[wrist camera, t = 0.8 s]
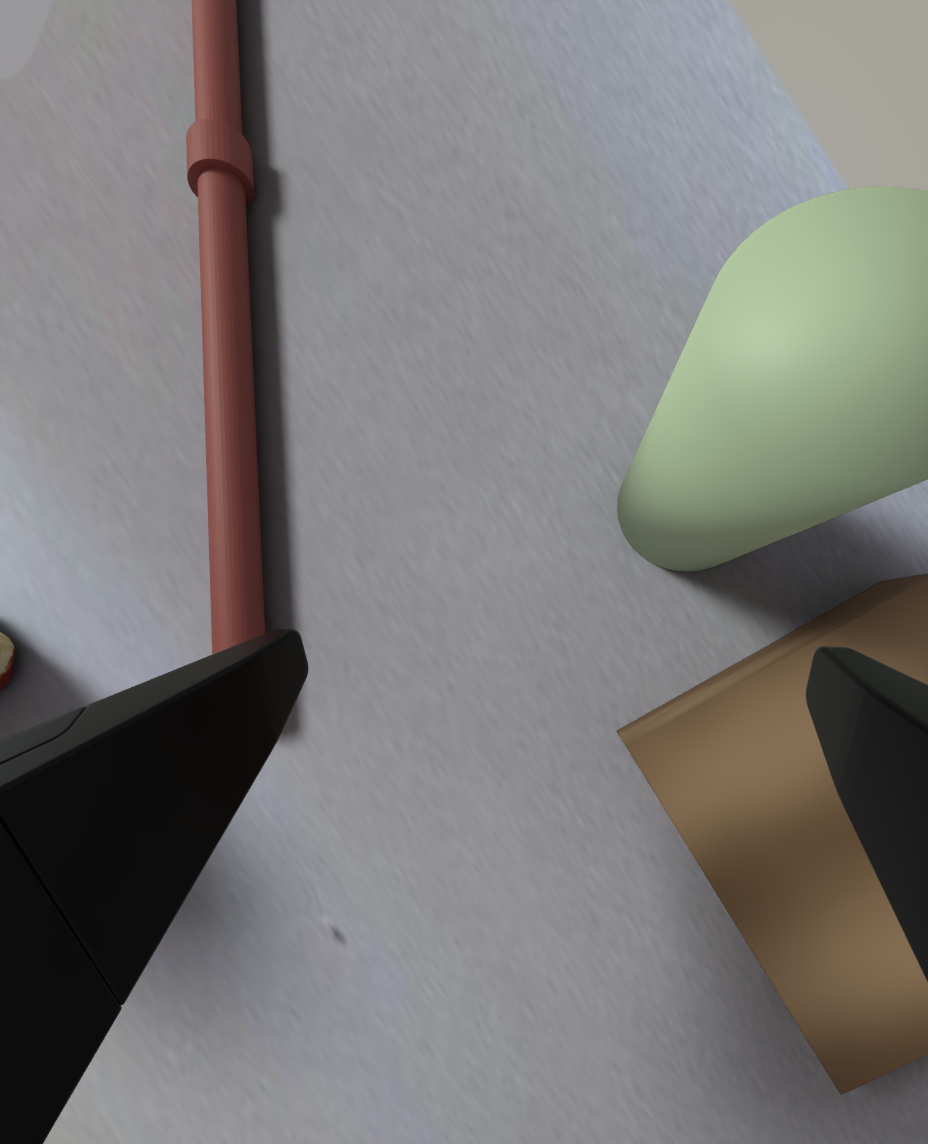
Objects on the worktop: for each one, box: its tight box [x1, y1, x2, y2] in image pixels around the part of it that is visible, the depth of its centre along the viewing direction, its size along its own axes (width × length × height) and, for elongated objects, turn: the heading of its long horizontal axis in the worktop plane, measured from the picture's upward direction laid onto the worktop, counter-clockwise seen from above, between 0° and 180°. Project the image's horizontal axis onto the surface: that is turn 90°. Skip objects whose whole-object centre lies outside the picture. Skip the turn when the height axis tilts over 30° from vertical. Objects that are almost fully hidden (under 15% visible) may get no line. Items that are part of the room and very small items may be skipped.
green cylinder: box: [617, 187, 928, 572], centre depth 15 cm, size 6×6×13 cm
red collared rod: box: [186, 0, 265, 655], centre depth 26 cm, size 45×3×3 cm, turn 6°
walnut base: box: [617, 574, 928, 1095], centre depth 18 cm, size 12×12×3 cm
